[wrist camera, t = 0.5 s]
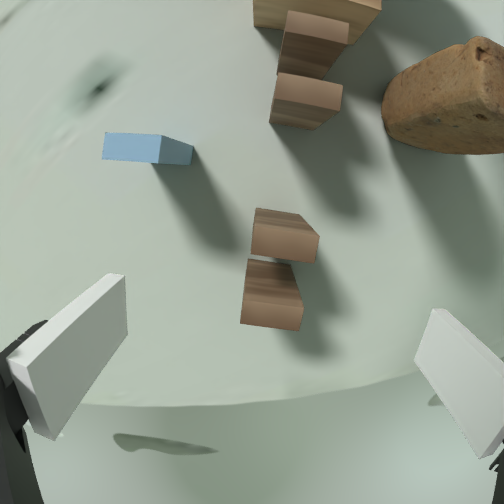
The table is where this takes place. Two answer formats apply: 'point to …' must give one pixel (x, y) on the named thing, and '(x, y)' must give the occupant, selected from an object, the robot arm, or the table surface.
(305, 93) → the domino
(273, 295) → the domino
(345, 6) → the end block
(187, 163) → the domino
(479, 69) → the bread loaf
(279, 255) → the domino
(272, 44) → the table surface
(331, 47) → the domino
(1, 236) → the table surface
